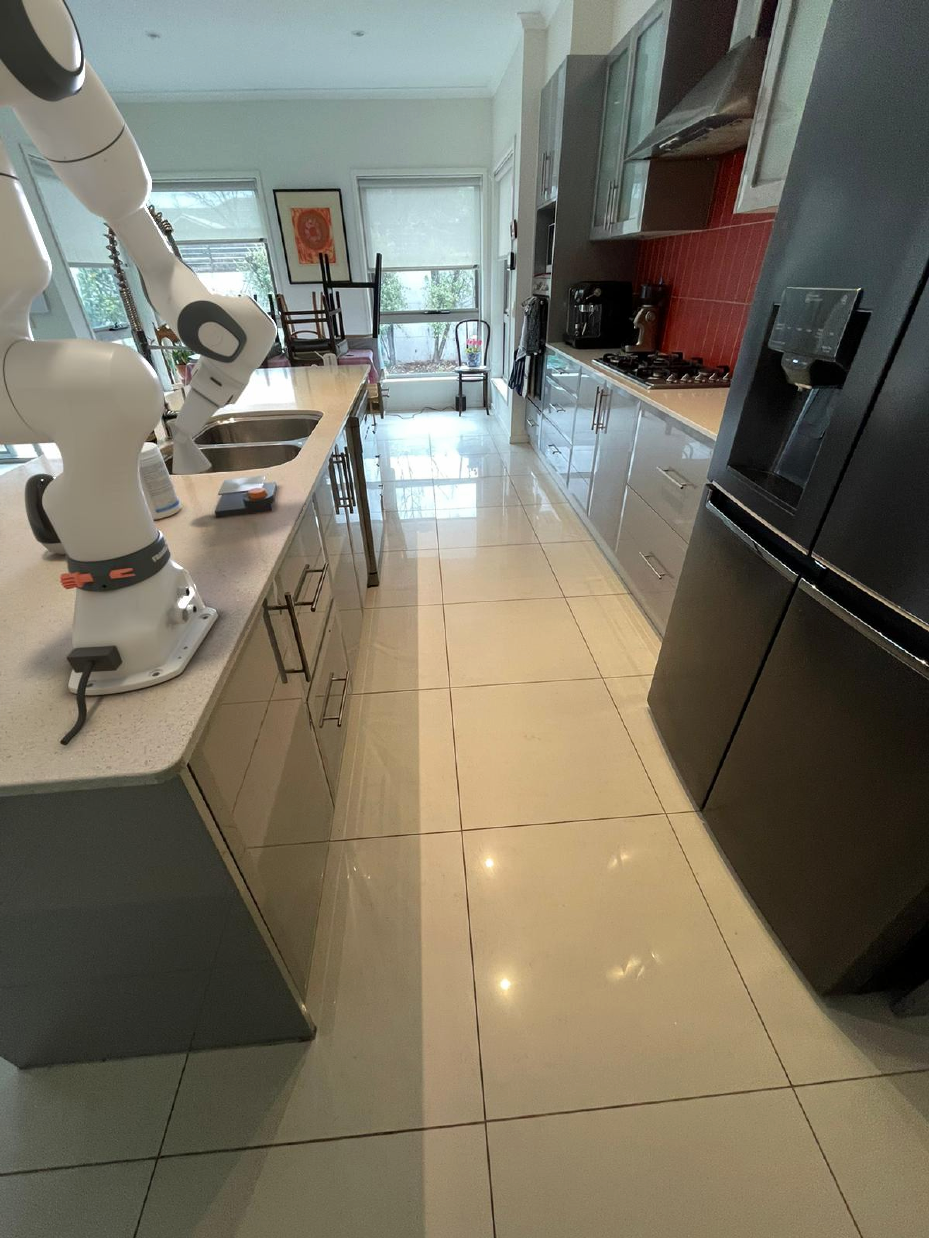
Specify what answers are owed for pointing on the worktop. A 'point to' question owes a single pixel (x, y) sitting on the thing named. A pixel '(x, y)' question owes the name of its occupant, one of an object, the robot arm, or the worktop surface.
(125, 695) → the worktop surface
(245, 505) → the scale
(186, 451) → the flask
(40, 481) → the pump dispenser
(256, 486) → the weighing plate
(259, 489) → the button
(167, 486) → the supplement tub
